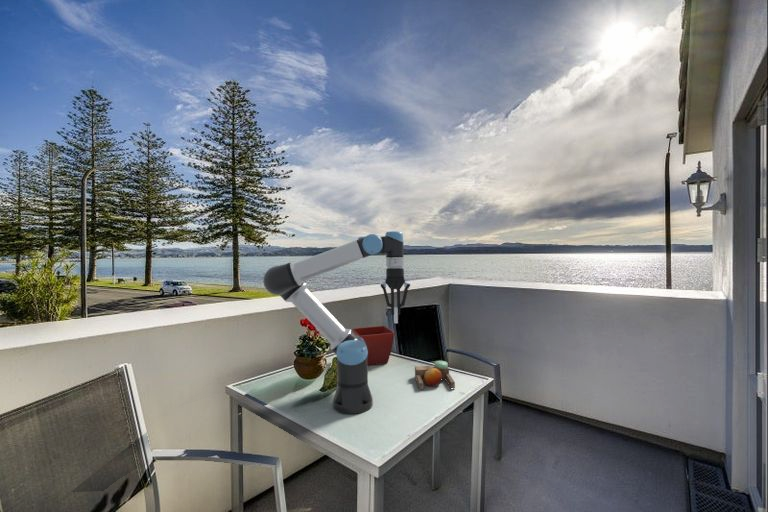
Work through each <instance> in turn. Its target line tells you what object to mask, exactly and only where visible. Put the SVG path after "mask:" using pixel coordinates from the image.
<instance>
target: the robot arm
mask: <svg viewBox="0 0 768 512" xmlns="http://www.w3.org/2000/svg"><path fill="white" fill-rule="evenodd" d="M381 254H382V255H385V257H386V258H385V266H386V270H385V271H386V272H385V273H386V274H385V275H386V279H385V280H384V282H382V283H381V284H380V288H382V290H383V295H384V297H385V302H386V306H387V307H388V308H390V313H391V316H393V324H398V323H399V321H398V320H399V316H400V315H401V307H404V306H405V303H406V299H407V296H408V295H407V294H408V291H409V288H410V287H411V283H408V282H407V281H406V279H405V271H404V235H403V232H402V231H397V230H395V231H386V232H385V235H384V236H379V235H378V234H376V233H370V234H368V235H366V236H359V237H358V238H357V239H355V240H353V241H351V242H347V243H345V244H342V245H340V246H338V247H334V248H332V249H330V250H326V251H324V252H322V253H317V254H316V255H313V256H311V257H308V258H306V259H303V260H300V261H297V262H293V261H291V262H287V263H284V264H279V265H275V266H272V267H270V268H269V269H268V270H266V272H265V273H264V276H263V281H262V282H263V283H262V284H263V286H264V288H265V290H266V291H267V292H268V293H270V294H272V295H274V296H280V297H281V298H282V299H283V301H284V302H286V303H292V305H293V306H294V307H296V309H297V310H299V312H300V313H301V314H302V315H303V316H304V317H305V318H306V319H307V320H308V321H309V323H310V324H311V325H313V326H314V327H315V329H316V330H317V331H318V332H319V333H320V334H321V335H322V336H323V337H324V339H326V340H327V341H328V342H329V343H330V350H331V351H332V352H333V353H334V354H335V355H336V371H337V372H336V374H337V375H336V377H337V379H336V381H337V385H336V390H335V393H334V395H333V400H332V407H333V409H334V411H336V412H338V413H341V414H346V415H356V414H360V413H364V412H368V411H369V410H370V409H371V408H372V407H373V406H374V405H373V403H374V402H373V396H372V395H373V394H372V393H371V389H370V386H369V379H368V378H369V377H368V375H369V374H368V370H369V369H368V367H369V366H367V355H368V350H367V346H366V344H365V342H364V340H363V339H362V338H361V337H359V336H357V335H356V334H355V333H354V332H353V331H352V329H351V328H345V326H344V325H343V324H342V323H340V321H338V319H337V318H336V317H335V316H334V315H333V313H331V312H330V311H329V309H328V308H326V307H325V305H324V304H323V303H322V302H321V301H320V300H319V299H318V298H317V297H316V296H315V295H314V294H313V293H312V292H311V291H310V290H309V288H308V280H311V279H313V278H316V277H318V276H321V275H323V274H326V273H328V272H331V271H335V270H337V269H339V268H341V267H344V266H346V265H349V264H351V263H354V262H356V261H359V260H361V259H364V258H365V259H366V258H367V257H369V256H374V255H381ZM387 287H388V288H389V289H390V301H389V296H388V292H387V289H386V288H387ZM402 287H404V289H403V294H402V299H401V289H402ZM395 290H396V306H395Z"/></svg>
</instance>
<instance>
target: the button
mask: <svg viewBox="0 0 768 512" xmlns="http://www.w3.org/2000/svg"><path fill="white" fill-rule="evenodd" d="M434 366H435V368H437V369H446V368H449V364H448V362H447V361H443V360H438V361H435V362H434Z"/></svg>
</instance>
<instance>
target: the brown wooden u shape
mask: <svg viewBox="0 0 768 512" xmlns="http://www.w3.org/2000/svg"><path fill="white" fill-rule="evenodd" d="M446 380H447V381H446ZM446 380H445V381H446V383H447V382H448V383H449V384H448V383H447V384H448V386H449V385H450V386H449V388H450V387H451V388H455V389H456V382H455V380H454V378H453V377H452V376H451V374H450V372H449V373H446ZM415 381H416V384H417V387H418V389H419V391H424V381H422V379H421V377H420V374H416V378H415ZM451 388H450V389H451Z"/></svg>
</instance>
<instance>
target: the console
mask: <svg viewBox="0 0 768 512" xmlns="http://www.w3.org/2000/svg"><path fill="white" fill-rule="evenodd" d="M432 368H435V365H420V366H419V365H418V366H417V365H415V366H414V378H415V379H416V374H420V377H421V379H422V380H424V374H425V372H426V371H428V370H429V369H432ZM438 370H439V371H440V372H441V374H442V379H446V373H449V374H450V368H449V367H448V368H446V369H438Z"/></svg>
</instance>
